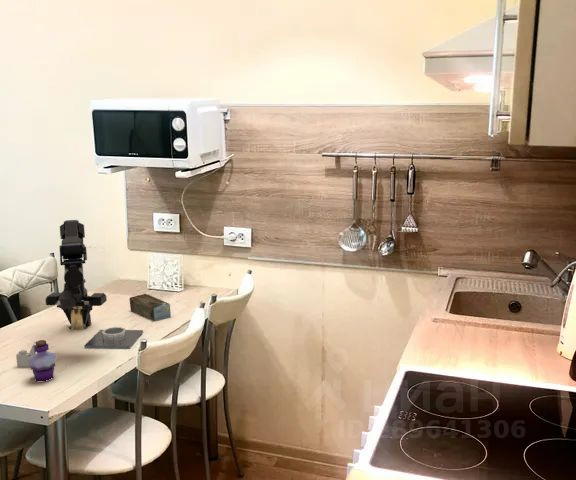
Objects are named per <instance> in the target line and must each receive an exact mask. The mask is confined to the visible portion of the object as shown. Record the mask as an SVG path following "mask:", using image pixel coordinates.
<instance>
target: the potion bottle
mask: <svg viewBox="0 0 576 480" xmlns="http://www.w3.org/2000/svg"><path fill="white" fill-rule="evenodd" d="M35 342H36V345H35V346H34V352H36V353H35V354H34V355H32V356H30V357H28V362H29V365H30V367H29V368H30V370H31V371H32V373H33V376H34V380H35V379H36V381H35V382H37V381H45V382H47V381H46V380H49V379H51V378H53V379H54V372H55V367H56V363H57V353H56V352H50V351H48V350H50V349H49V348H50V347H49V343H47V341H46V340H45V339H40V340H37V341H35ZM51 380H52V379H51ZM49 381H50V380H49Z"/></svg>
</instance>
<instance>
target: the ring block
mask: <svg viewBox="0 0 576 480" xmlns="http://www.w3.org/2000/svg"><path fill="white" fill-rule="evenodd" d="M143 333H144V330H143V329H126V327H122V326H113V327H108V328H105V329H100V330H98V331H97V332H96V333H95V334H94V335H93V336H92V337H91V338H90V339H89V340H88V341H87V342H86V343H85V344H84V345H83V346H84V347H83V348H84V349H114V350H115V349H116V350H117V349H119V350H120V349H122V350H123V349H124V350H130V349H131V348H132V347H133V346H134V345H135V343H136V342H137V341H138V340H139V338H140V337H141V336H142V335H143Z"/></svg>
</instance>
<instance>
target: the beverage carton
mask: <svg viewBox="0 0 576 480" xmlns="http://www.w3.org/2000/svg"><path fill="white" fill-rule="evenodd" d="M129 308H130V311H131V312H133V313H135V314H137V315H139V316H141V317H144V318H146V319H148V320H151V321H152V322H159V321H162V320H166V319H169V318H171V317H172V315H171V314H172V313H171V304H170V303H169V302H166V301H164V300H162V299H159V298H157V297H155V296H152V295H150V294H148V293H143V294H140V295H139V294H138V295H135V296H131V297H129Z"/></svg>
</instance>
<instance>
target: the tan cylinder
mask: <svg viewBox="0 0 576 480" xmlns="http://www.w3.org/2000/svg"><path fill="white" fill-rule="evenodd" d="M70 315H71V324H70V326H71V327H72V329H71V330H72V331H81V330H86V329H85V324H84V321H83V308H82V306H75V307H71V308H70Z"/></svg>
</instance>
